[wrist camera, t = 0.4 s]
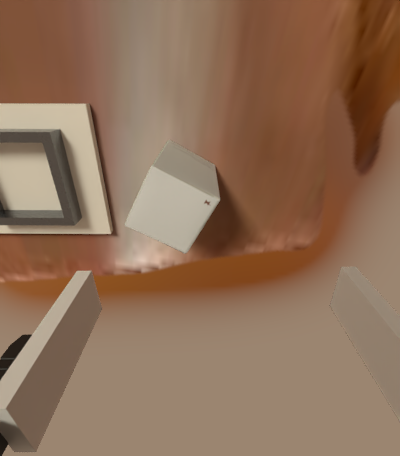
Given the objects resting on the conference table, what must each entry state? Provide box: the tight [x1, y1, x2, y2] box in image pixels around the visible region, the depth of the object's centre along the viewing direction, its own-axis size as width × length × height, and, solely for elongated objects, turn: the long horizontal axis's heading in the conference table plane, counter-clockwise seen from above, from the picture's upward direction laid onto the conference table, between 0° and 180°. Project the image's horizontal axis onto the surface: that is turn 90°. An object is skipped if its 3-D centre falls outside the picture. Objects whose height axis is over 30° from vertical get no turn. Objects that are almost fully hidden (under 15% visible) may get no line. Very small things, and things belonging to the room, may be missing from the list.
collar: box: [0, 129, 82, 226], centre depth 34 cm, size 12×12×2 cm
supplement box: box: [125, 140, 220, 253], centre depth 30 cm, size 7×7×13 cm
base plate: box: [0, 103, 113, 234], centre depth 35 cm, size 18×20×1 cm
